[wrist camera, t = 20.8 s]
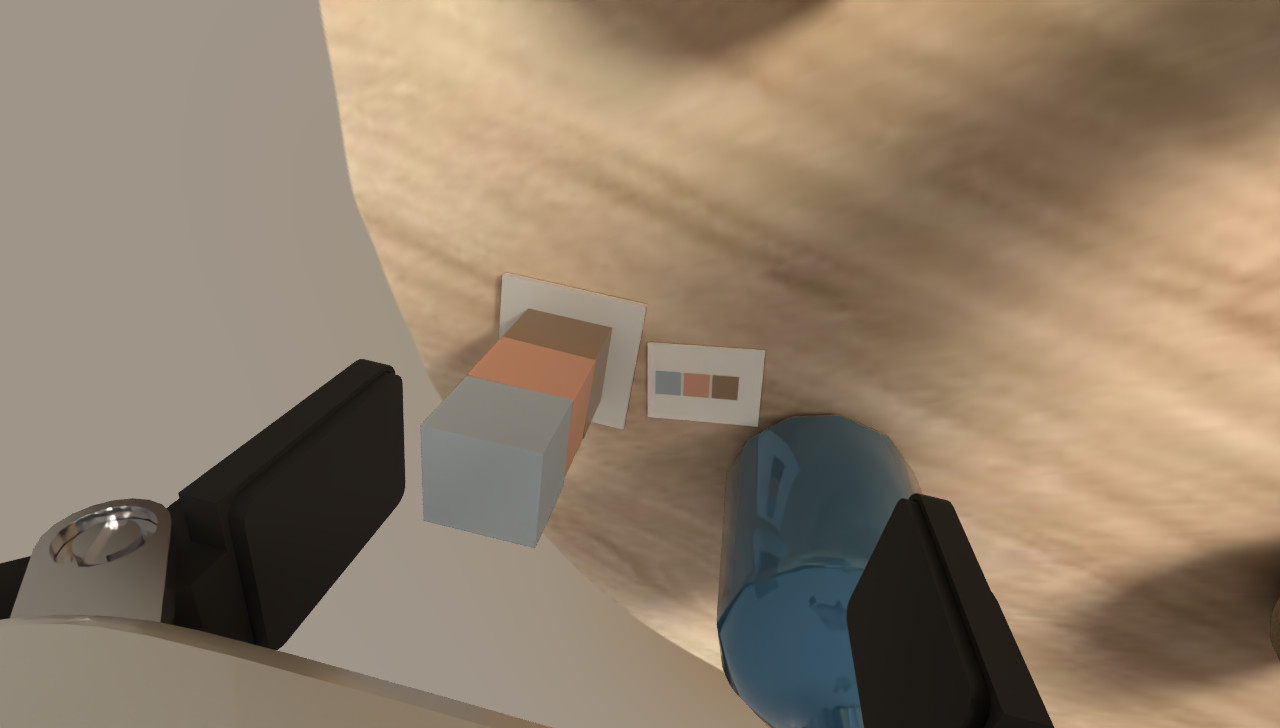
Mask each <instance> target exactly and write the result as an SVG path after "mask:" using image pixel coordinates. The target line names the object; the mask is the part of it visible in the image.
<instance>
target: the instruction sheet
mask: <svg viewBox="0 0 1280 728" xmlns="http://www.w3.org/2000/svg"><path fill="white" fill-rule="evenodd" d="M764 359H765V350H758V349H744V348H729V347H715V346H700V345H685V344H671V343H656V342H648V417H653V418H665V419H676V420H687V421H699V422H710V423H721V424H733V425H744V426H755V427H758V419H759V409H760V399H761V389H762V379H763V369H764Z"/></svg>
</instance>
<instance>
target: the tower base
mask: <svg viewBox="0 0 1280 728" xmlns="http://www.w3.org/2000/svg"><path fill="white" fill-rule="evenodd" d="M646 309H647V304H644V303H640V302H635V301H631V300H626V299H622V298H617V297H613V296H609V295H604V294H600V293H595V292H591V291H586V290H582V289H578V288H573V287H569V286H564V285H560V284H555V283H551V282H547V281H542V280H538V279H533V278H529V277H524V276H520V275H516V274H511V273H507V272H506V273H504V274H503V276H502V292H501V309H500V326H499V339H500V338H501V337H506V338H510V339H514V340H518V341H522V342H526V343H530V344H534V345H538V346H542V347H546V348H549V349H553V350H557V351H561V352H565V353H569V354H573V355H577V356H581V357H585V358H589V359H593V360H596V363H595V369H594V374H593V380H592V386H591V392H590V398H589V403H588V409H587V415H586V421H585V427H584V433H583V438H584V436H585V434H586V432H587V430H588V427H589V425H590V423H591V422H593V423H597V424H601V425H605V426H610V427H614V428H618V429H622V430H623V428H624V426H625V420H626V415H627V410H628V404H629V399H630V394H631V388H632V383H633V378H634V372H635V367H636V362H637V357H638V351H639V346H640V341H641V335H642V330H643V325H644V319H645V314H646ZM583 438H582V439H583Z"/></svg>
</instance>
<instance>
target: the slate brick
mask: <svg viewBox="0 0 1280 728" xmlns="http://www.w3.org/2000/svg"><path fill="white" fill-rule="evenodd" d="M572 404H573V400H572V399H568V398H564V397H559V396H555V395H550V394H546V393H541V392H537V391H532V390H528V389H523V388H519V387H514V386H510V385H505V384H501V383H496V382H492V381H488V380H483V379H479V378H474V377H470V376H466V377H465V378H464V379H463V380H462V381H461V382H460V383H459V384H458V385H457V386H456V388H455V389H454V390H453V391H452V392H451V393H450V394H449V395H448V396H447V397H446V398H445V399H444V400H443V402H442V403H441V404H440V405H439V406H438V407H437V408H436V409H435V410H434V411H433V412H432V413H431V414H430V416H429V417H428V418H427V419H426V420H425V421H424V422H423V423H422V424H421V451H422V453H421V454H422V482H423V483H422V484H423V511H424V512H423V514H424V521H427V522H432V523H436V524H440V525H444V526H448V527H452V528H456V529H460V530H464V531H468V532H472V533H476V534H480V535H484V536H488V537H492V538H496V539H500V540H504V541H509V542H512V543H516V544H520V545H525V546H529V547H533V548H535V547H536V545H537V543H538V541H539V538H540V536H541V534H542V532H543V530H544V528H545V525H546V523H547V521H548V519H549V517H550V514H551V512H552V510H553V508H554V506H555V503H556V501H557V499H558V497H559V495H560V493H561V490H562V488H563V485H564V476H565V467H566V458H567V449H568V440H569V431H570V422H571V413H572Z"/></svg>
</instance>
